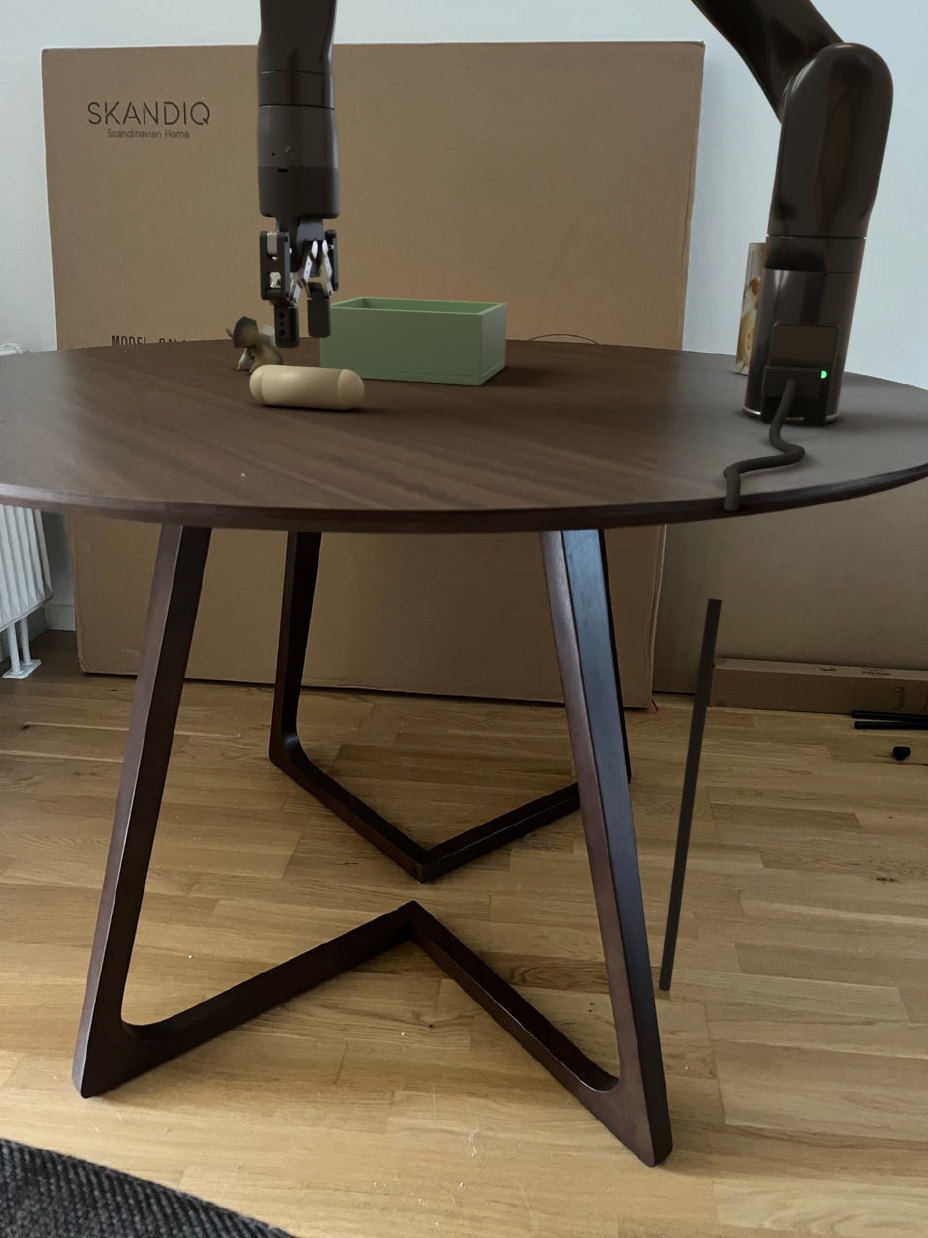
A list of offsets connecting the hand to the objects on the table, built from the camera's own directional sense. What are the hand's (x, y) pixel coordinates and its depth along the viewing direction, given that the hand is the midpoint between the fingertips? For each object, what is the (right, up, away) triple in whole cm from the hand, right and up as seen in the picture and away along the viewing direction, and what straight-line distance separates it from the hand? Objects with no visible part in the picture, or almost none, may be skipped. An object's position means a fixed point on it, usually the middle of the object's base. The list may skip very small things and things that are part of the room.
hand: (304, 342), depth 99 cm
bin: (+10, +4, +26) cm, 28 cm away
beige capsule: (0, -6, +2) cm, 6 cm away
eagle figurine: (-10, +3, +24) cm, 26 cm away
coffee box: (+56, +3, +29) cm, 63 cm away
